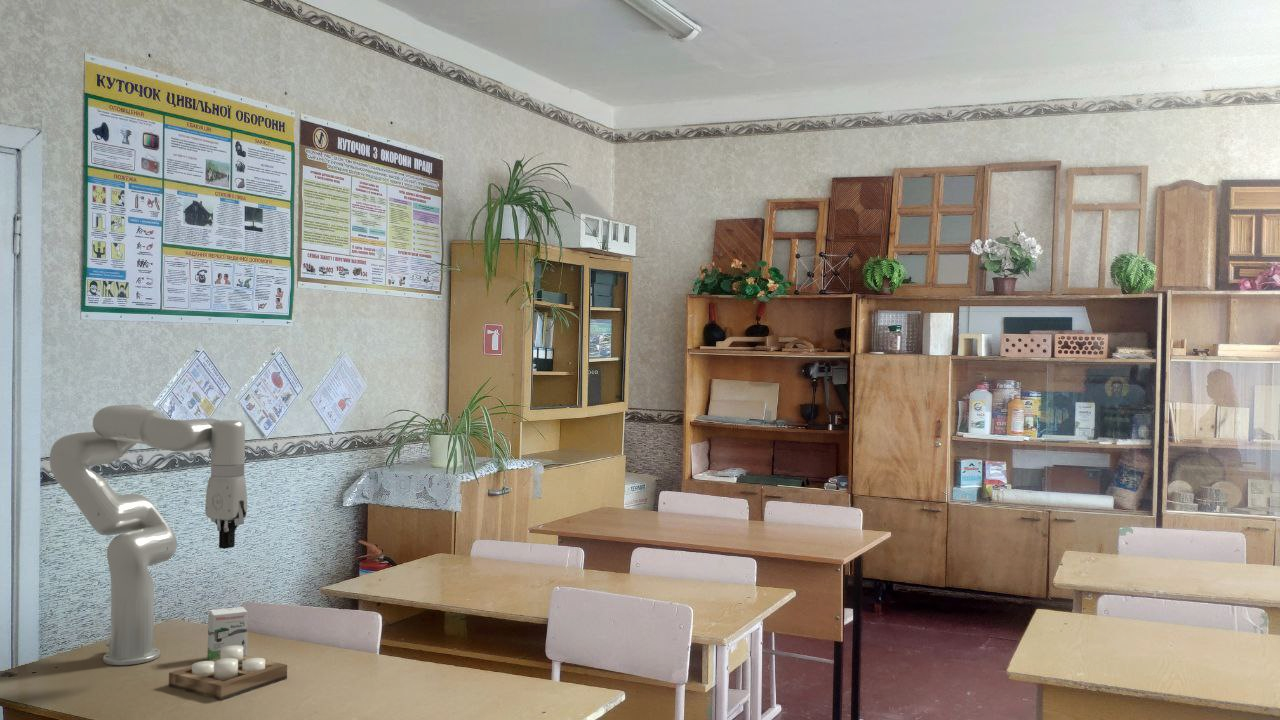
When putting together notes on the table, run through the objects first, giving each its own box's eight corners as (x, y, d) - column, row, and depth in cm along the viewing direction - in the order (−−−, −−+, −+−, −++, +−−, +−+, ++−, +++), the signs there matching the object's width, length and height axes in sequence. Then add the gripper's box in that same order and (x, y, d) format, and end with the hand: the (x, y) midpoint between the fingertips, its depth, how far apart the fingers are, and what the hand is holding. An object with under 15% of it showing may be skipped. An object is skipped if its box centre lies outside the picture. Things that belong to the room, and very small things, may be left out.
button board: (168, 686, 231) (168, 672, 231) (235, 666, 247) (235, 653, 247) (221, 700, 222) (221, 685, 222) (287, 678, 238) (287, 664, 238)
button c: (209, 678, 228) (209, 662, 228) (227, 672, 233) (228, 657, 233) (223, 681, 226) (224, 666, 226) (242, 675, 230) (242, 660, 230)
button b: (215, 664, 239) (215, 649, 239) (233, 658, 243) (233, 644, 243) (229, 667, 236) (230, 652, 236) (247, 662, 241) (247, 647, 241)
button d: (237, 677, 235) (237, 662, 235) (255, 671, 239) (255, 656, 239) (252, 680, 232) (252, 665, 232) (269, 674, 237) (269, 659, 237)
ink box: (211, 662, 250) (211, 614, 250) (207, 657, 254) (207, 610, 254) (247, 657, 254) (248, 610, 254) (243, 652, 259) (243, 606, 259)
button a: (187, 680, 232) (187, 665, 232) (206, 674, 236) (206, 659, 236) (201, 684, 230) (201, 668, 230) (220, 678, 234) (220, 663, 234)
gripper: (193, 471, 246) (193, 546, 246) (235, 475, 239) (234, 553, 239) (220, 468, 252) (219, 542, 252) (261, 472, 245) (260, 548, 245)
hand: (226, 547), depth 245 cm, fingers closed
